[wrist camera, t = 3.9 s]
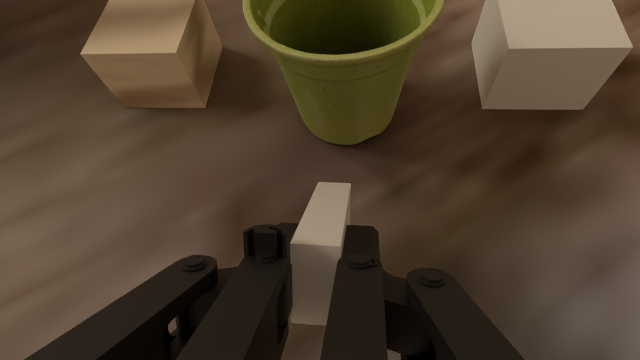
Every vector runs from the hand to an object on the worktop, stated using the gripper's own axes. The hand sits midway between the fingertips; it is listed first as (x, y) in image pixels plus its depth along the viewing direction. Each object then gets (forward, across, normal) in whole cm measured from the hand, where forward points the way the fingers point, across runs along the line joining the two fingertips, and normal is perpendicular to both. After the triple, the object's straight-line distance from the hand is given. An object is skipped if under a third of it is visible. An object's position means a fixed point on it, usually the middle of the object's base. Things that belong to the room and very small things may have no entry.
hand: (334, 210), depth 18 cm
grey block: (+11, +12, +6) cm, 17 cm away
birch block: (+11, -13, +6) cm, 18 cm away
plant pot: (+9, 0, +4) cm, 10 cm away
